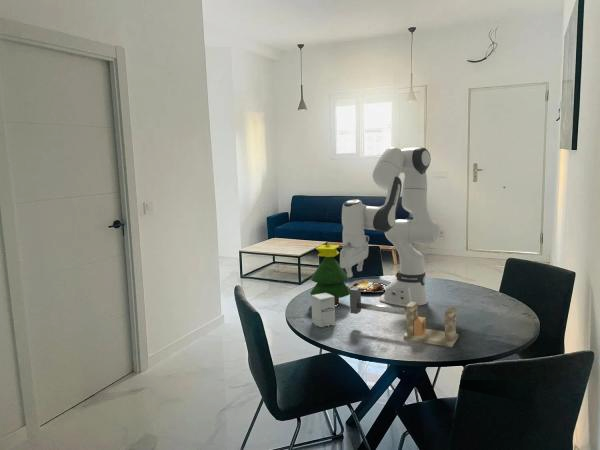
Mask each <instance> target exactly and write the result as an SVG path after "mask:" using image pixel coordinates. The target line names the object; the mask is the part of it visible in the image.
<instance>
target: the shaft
mask: <svg viewBox="0 0 600 450" xmlns="http://www.w3.org/2000/svg"><path fill="white" fill-rule="evenodd" d="M349 290H350V294H349V307H350V308H349V309H350V310H349V312H350V314H354V315H357V314H359V313H361V312H362V310H367V311H373V312H381V313H388V314H395V315H402V316H404V315H406V314H405V313H406V309H405V308H402V307H396V306H385V305H381V304H380V305H379V304H374V303H372V304H371V303H365V302H362V300H361V299H362V298H361V295H362V293H361V289H360V288H359V287H353V288H351V289H349Z"/></svg>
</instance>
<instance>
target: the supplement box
mask: <svg viewBox="0 0 600 450" xmlns="http://www.w3.org/2000/svg"><path fill="white" fill-rule="evenodd" d="M310 295H311V294H310ZM310 299H311V300H310V301H311V323H312V322H313V323H314V324H316V325H318V326H319V327H324V326H328V325H332V326H334V325H333V324H335V325H336V313H335V312H336V309H335V308H336V307H335V300H334V296H332V295H330V294H328V293H321V294H316V295H311V296H310ZM314 324H313V325H314ZM316 325H315V326H316ZM319 327H318V328H319ZM328 327H329V326H328ZM324 328H325V327H324Z"/></svg>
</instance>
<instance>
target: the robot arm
mask: <svg viewBox="0 0 600 450" xmlns="http://www.w3.org/2000/svg"><path fill="white" fill-rule="evenodd" d="M430 164H431V154H430V152H429V150H428V149H427V148H426V147H421V146H420V147H419V146H416V147H406V148H402V149H400V147H396V146H390V147H388V148H386V149H385V150H384V152H383V153H382V154H381V156H380V157H379V158H378V160H377V162H376V164H375V166H374V168H373V170H372V178H373V181H374V183H375V184H376V186H378V188H381V189H382V190H385V191H387V192H386V193H387V194H386V197H385V202H384V204H383V205H380V206H371V205H366V204H364V203H363V202H362V200H361V199H350V200H349V199H348V200H347V201H344V202H343V204H342V208H341V224H342V233H341V234H342V249H340V252H339V265H340V267H341V268H342V269H344V271H345V273H346V274H347V277H349V278H352V277H353V276H354V275H353V274H354V273H353V271H352V267H353V266H355V265H357V266H356V271H357V272H362V271H363V265H364V260H365V259H367V258H368V256H369V241H370V236H369V235H365V230H371V231H372V230H373V231H377V232H383V233H384V235H385V238H386V239H387V241H389V243H391V244H392V245H393V246H394V247H395V249H396V251H397V253H398V256H399V257H398V258H399V270H398V271H397V272H396V274H395V278H396V279H394V280H393V281H391V282H392V283H390V284H389V285H388V286H387V287H386V286H385V288H384V289H385V292H383V294H381V295H380V297H379V302H380V301H381V302H380V303H386V304H390V305H394V306H400V307H405V308H406V306H407V305H408V304H409V303H410V302H418V306H419V307H420V306H423V305H426V304H428V303H429V299H428V296H427V291H426V290H427V289H426V282H427V281H426V280H427V279H426V277H427V276H426V272H425V257H424V255H423V253H421V252H420V251H419V250H417V249H416V248H415V247H414V246H413V244H415V245H416V244H417V245H429V244H430V245H431V244H435V243H437V242H438V241H439V239H440V238H441V233H442V232H441V227H440V225H439V224H438V222H436V220H434V219H433V218H432V216H431V214H430V213H429V209H428V207H427V205H428V203H427V199H428V197H427V196H428V179H427V178H428V177H427V170H428V169H429V166H430ZM401 174H404V177H403V183H402V180H401V178H400V175H401ZM401 192H402V194H401ZM400 196H401V206H402V209H404V210H405V211H406V212H408V213H410V214H411V215H412V219H403V218H402V219H401V218H400V219H399V218H398V219H397V218H396V215H397V209H398V206H399V201H400Z"/></svg>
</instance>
